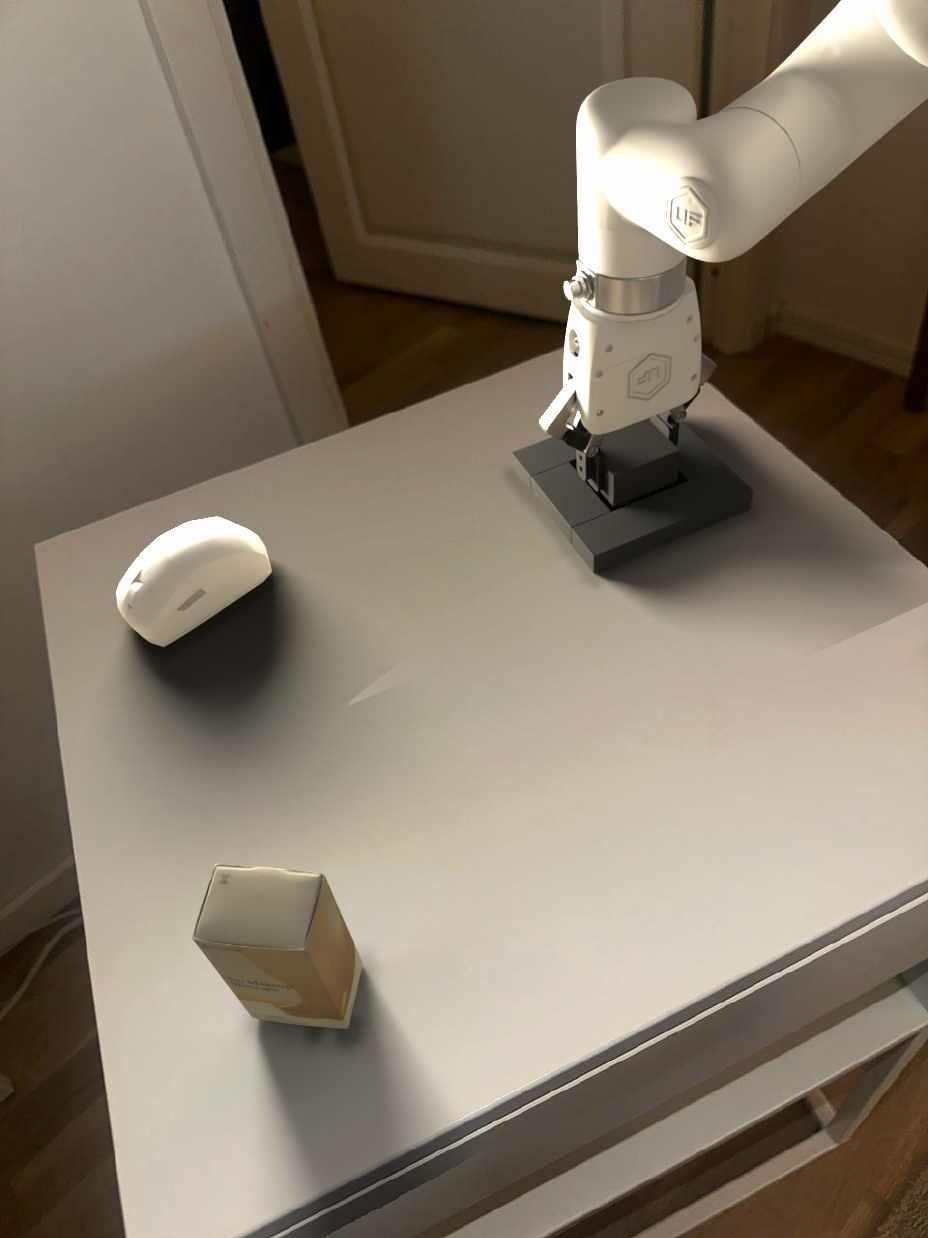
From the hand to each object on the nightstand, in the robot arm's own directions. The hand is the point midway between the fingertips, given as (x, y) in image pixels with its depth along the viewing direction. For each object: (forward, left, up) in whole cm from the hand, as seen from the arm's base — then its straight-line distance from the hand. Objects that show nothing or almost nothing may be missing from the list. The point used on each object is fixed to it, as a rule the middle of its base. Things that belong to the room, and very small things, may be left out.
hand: (627, 465), depth 82 cm
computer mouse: (+37, -7, -3) cm, 38 cm away
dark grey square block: (0, 0, -1) cm, 1 cm away
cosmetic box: (+39, +29, -3) cm, 49 cm away
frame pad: (0, 0, -2) cm, 2 cm away
